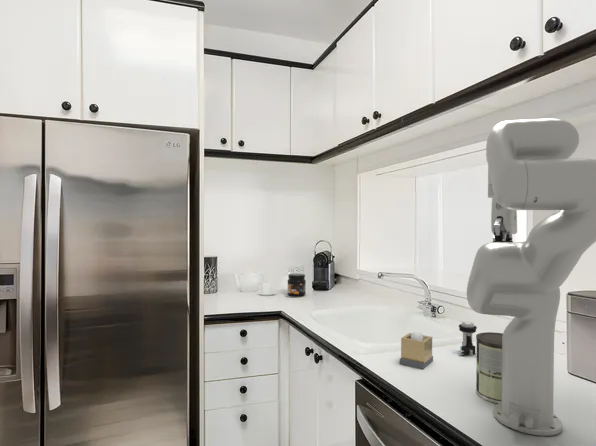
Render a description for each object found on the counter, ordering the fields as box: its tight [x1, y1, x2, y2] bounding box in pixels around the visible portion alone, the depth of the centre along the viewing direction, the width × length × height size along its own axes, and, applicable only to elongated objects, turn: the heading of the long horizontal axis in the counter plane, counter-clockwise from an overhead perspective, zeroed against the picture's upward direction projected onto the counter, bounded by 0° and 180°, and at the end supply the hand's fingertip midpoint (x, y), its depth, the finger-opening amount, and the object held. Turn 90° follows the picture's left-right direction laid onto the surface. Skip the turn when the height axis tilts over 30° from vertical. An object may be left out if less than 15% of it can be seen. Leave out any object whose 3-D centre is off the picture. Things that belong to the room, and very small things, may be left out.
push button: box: [458, 321, 478, 357], centre depth 125 cm, size 7×5×10 cm
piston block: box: [399, 332, 434, 370], centre depth 118 cm, size 9×7×8 cm
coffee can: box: [475, 331, 503, 405], centre depth 95 cm, size 10×10×14 cm
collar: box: [400, 332, 433, 363], centre depth 118 cm, size 7×7×6 cm
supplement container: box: [286, 273, 307, 298], centre depth 225 cm, size 10×10×12 cm
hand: (502, 256), depth 104 cm, fingers open, 9 cm apart
